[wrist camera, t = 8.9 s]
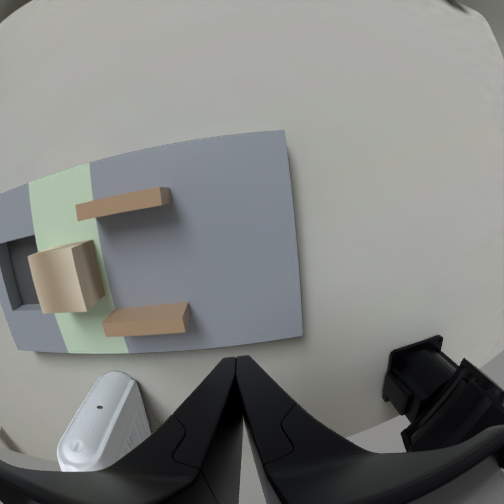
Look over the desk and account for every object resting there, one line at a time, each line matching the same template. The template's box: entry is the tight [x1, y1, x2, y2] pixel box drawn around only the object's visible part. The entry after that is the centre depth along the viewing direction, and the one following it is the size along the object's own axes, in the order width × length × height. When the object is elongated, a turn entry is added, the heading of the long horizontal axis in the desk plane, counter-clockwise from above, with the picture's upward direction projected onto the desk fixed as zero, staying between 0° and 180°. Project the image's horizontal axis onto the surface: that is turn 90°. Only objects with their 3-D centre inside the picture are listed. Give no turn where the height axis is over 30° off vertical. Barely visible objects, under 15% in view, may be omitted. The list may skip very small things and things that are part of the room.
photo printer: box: [57, 372, 151, 472], centre depth 17 cm, size 10×4×12 cm, turn 179°
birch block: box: [28, 239, 105, 314], centre depth 16 cm, size 4×4×3 cm
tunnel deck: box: [0, 130, 303, 354], centre depth 17 cm, size 26×14×4 cm, turn 97°
